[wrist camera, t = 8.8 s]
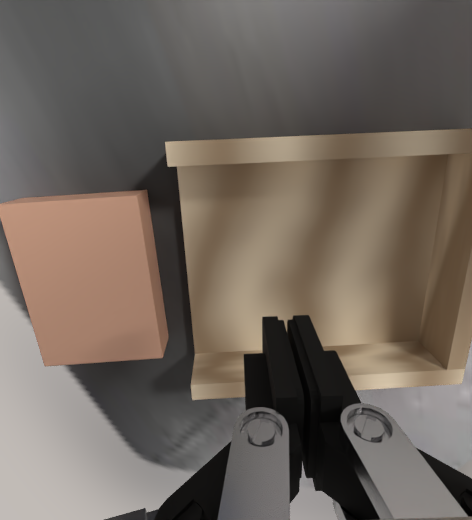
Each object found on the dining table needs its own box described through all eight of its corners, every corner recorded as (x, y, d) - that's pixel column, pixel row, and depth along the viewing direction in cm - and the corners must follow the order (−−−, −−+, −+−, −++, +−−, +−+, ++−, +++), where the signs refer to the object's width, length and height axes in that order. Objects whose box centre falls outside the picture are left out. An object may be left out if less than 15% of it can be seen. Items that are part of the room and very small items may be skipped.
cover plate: (148, 188, 22) (137, 195, 19) (169, 334, 25) (162, 357, 22) (26, 197, 22) (-4, 204, 19) (64, 341, 25) (44, 366, 22)
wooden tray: (462, 130, 21) (518, 126, 17) (425, 347, 26) (461, 383, 22) (176, 142, 20) (164, 141, 16) (197, 360, 26) (192, 399, 22)
